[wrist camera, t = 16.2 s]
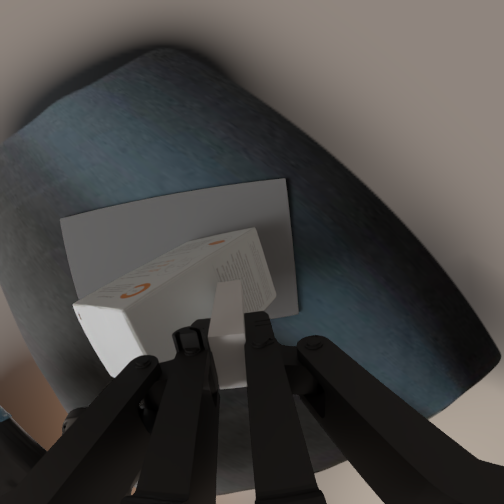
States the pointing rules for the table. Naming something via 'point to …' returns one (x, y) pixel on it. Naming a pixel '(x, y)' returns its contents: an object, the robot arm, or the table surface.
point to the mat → (183, 234)
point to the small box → (172, 296)
